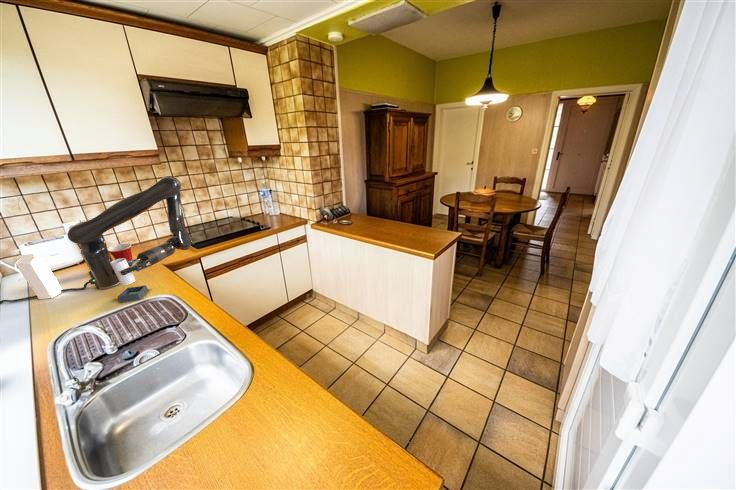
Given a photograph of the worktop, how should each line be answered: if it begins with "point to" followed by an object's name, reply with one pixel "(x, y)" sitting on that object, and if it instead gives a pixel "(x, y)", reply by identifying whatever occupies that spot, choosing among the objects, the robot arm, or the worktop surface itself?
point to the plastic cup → (121, 251)
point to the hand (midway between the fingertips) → (116, 273)
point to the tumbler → (119, 266)
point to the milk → (39, 276)
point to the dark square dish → (133, 293)
